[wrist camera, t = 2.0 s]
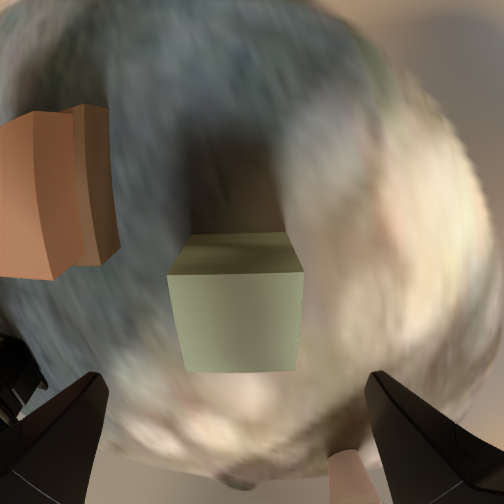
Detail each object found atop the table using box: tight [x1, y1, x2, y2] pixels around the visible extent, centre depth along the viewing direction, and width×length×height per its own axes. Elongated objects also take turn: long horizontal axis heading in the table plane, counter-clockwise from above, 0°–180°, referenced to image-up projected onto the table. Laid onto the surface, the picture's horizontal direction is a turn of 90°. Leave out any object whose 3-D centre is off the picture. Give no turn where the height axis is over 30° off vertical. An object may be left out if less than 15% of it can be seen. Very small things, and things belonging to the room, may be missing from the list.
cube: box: [167, 232, 304, 373], centre depth 13 cm, size 5×5×5 cm
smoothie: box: [328, 449, 382, 504], centre depth 18 cm, size 6×6×14 cm
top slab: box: [0, 111, 86, 281], centre depth 9 cm, size 7×7×3 cm
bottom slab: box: [57, 103, 121, 266], centre depth 12 cm, size 8×8×3 cm
